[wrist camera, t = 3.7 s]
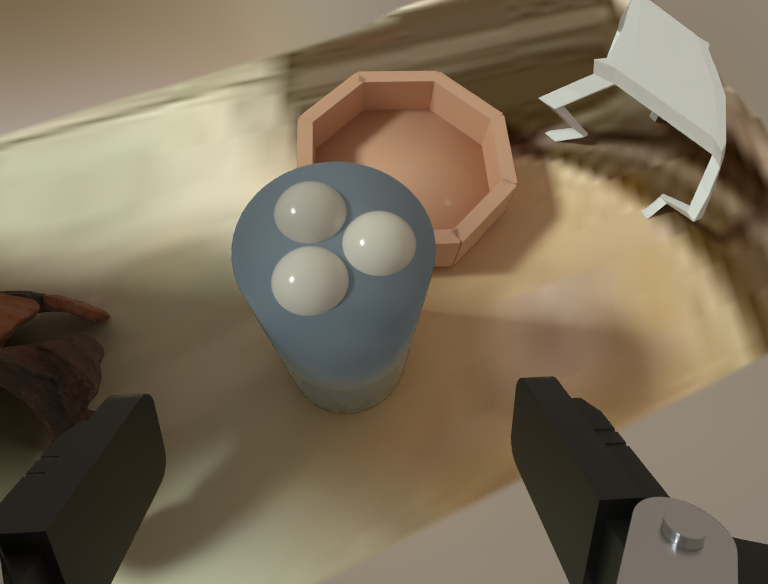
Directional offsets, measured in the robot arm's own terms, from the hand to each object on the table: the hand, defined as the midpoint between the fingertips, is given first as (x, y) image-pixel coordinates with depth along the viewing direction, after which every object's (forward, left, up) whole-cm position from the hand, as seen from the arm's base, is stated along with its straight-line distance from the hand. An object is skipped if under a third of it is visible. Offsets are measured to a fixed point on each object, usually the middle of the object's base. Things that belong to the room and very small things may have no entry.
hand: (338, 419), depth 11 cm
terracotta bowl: (+3, +13, -9) cm, 16 cm away
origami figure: (+15, +15, -10) cm, 24 cm away
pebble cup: (0, +4, -9) cm, 10 cm away
